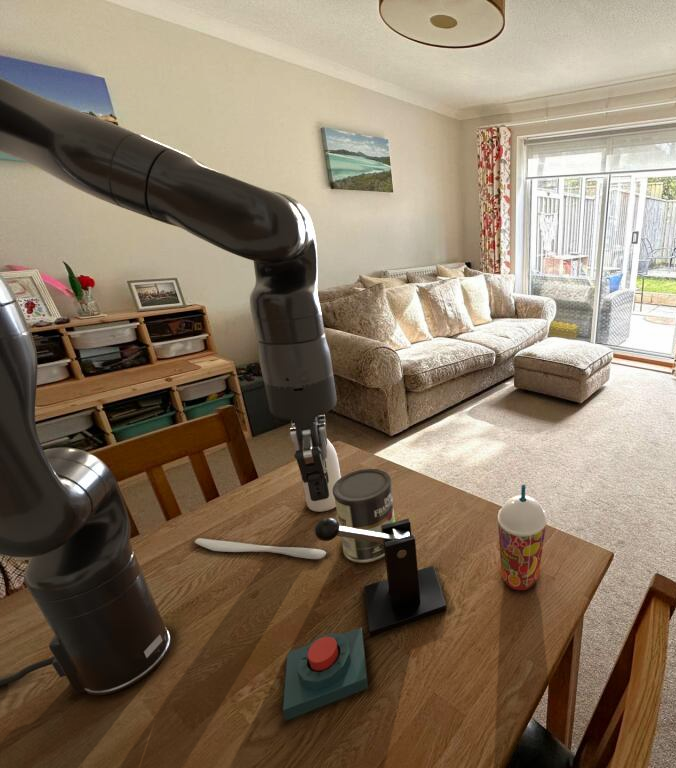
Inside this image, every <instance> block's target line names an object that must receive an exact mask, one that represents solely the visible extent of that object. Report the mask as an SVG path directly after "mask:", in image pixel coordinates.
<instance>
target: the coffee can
mask: <svg viewBox="0 0 676 768" xmlns="http://www.w3.org/2000/svg"><path fill="white" fill-rule="evenodd" d="M333 495H334V497H335V504H336V507H335V509H336V516H337V521H338V523H339V526H343V527H349V528H355V529H361V530H367V531H372V532H378V533H382V528H381V525H384V524H388V523H392V522H396V518H395V511H394V499H393V489H392V477H391V475H390V474H389V473H387V472H386V471H385V470H382V469H378V468H362V469H357V470H354V471H351V472H349V473H346V474H344V475H343V476H341V478H340V479H339V480H338V481H337V482H336V483H335V484H334V486H333ZM340 538H341V545H342V552H343V555H344V556H345V558H346V559H348V560H349V561H352V562H354V563H360V564H361V563H362V564H363V563H365V564H366V563H371V562H375V561H378V560H380V559H382V558H385V553H384V545H383V543H378V542H372V541H366V540H359V539H353V538H347V537H340Z"/></svg>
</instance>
